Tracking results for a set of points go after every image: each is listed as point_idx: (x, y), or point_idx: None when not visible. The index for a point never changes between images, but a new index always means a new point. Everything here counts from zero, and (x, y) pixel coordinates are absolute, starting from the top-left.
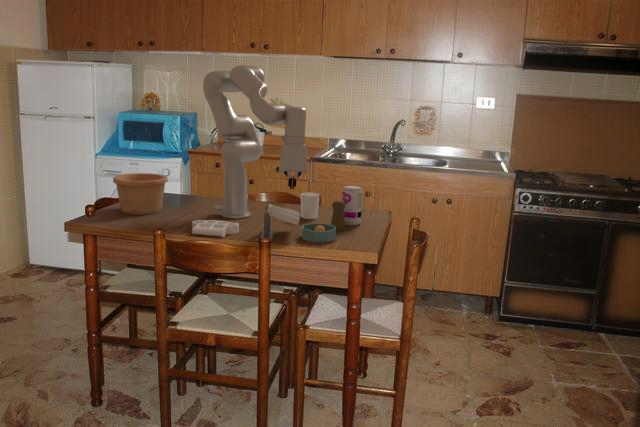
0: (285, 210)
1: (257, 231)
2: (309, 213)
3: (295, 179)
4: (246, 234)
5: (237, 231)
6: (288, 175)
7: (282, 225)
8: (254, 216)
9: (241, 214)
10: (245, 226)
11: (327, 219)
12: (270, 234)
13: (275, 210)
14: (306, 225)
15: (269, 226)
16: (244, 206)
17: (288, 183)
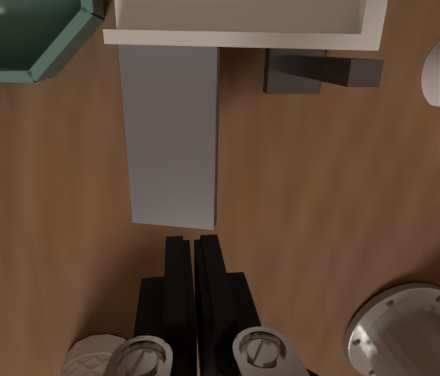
0: (225, 32)
1: (338, 90)
2: (95, 355)
3: (147, 346)
4: (395, 23)
5: (437, 49)
6: (290, 374)
7: (218, 215)
8: (329, 329)
9: (388, 312)
10: (381, 174)
11: (12, 348)
12: None
13: None
14: (66, 27)
15: (296, 56)
16: (395, 347)
17: (246, 290)
